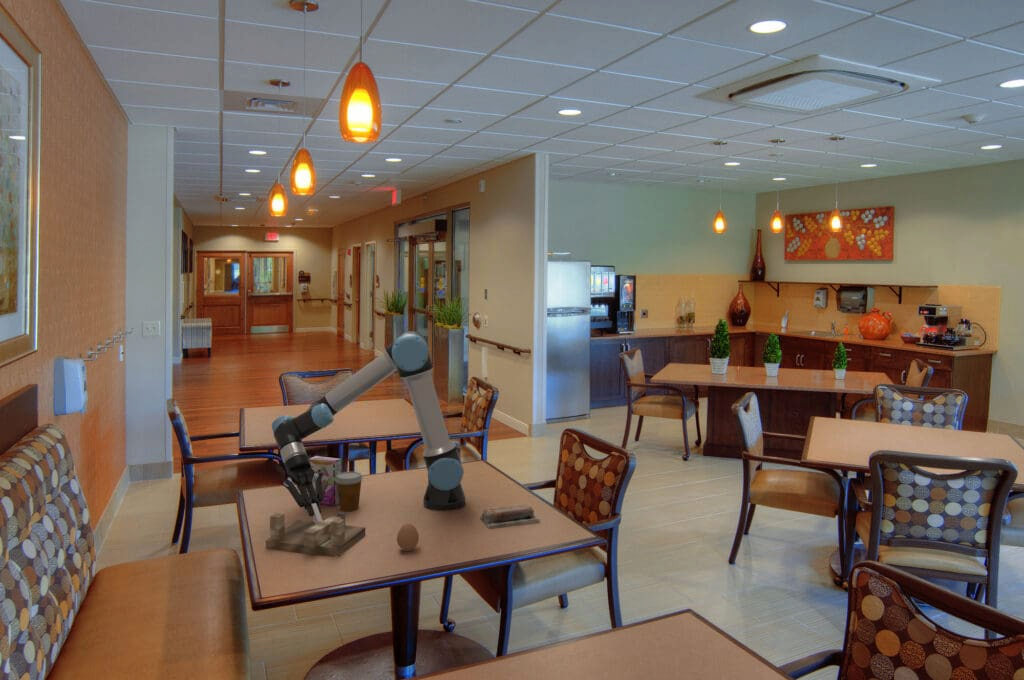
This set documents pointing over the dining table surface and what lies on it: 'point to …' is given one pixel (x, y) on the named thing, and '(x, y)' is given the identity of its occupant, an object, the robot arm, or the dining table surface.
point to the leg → (318, 533)
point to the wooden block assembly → (294, 536)
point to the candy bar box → (327, 477)
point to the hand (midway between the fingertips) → (319, 524)
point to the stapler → (508, 516)
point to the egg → (407, 537)
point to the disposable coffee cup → (349, 489)
